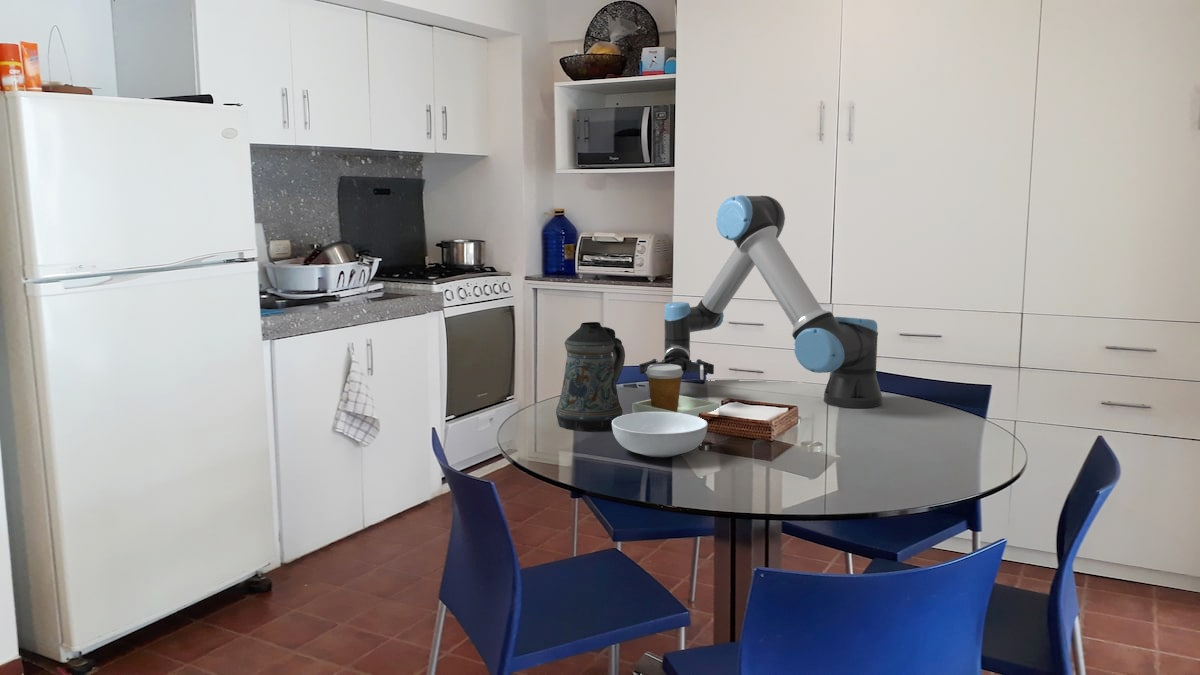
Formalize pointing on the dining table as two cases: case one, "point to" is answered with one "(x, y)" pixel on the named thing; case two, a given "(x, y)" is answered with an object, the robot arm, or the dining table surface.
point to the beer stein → (591, 379)
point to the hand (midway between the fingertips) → (676, 374)
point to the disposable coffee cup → (664, 385)
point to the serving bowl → (659, 432)
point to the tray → (684, 406)
